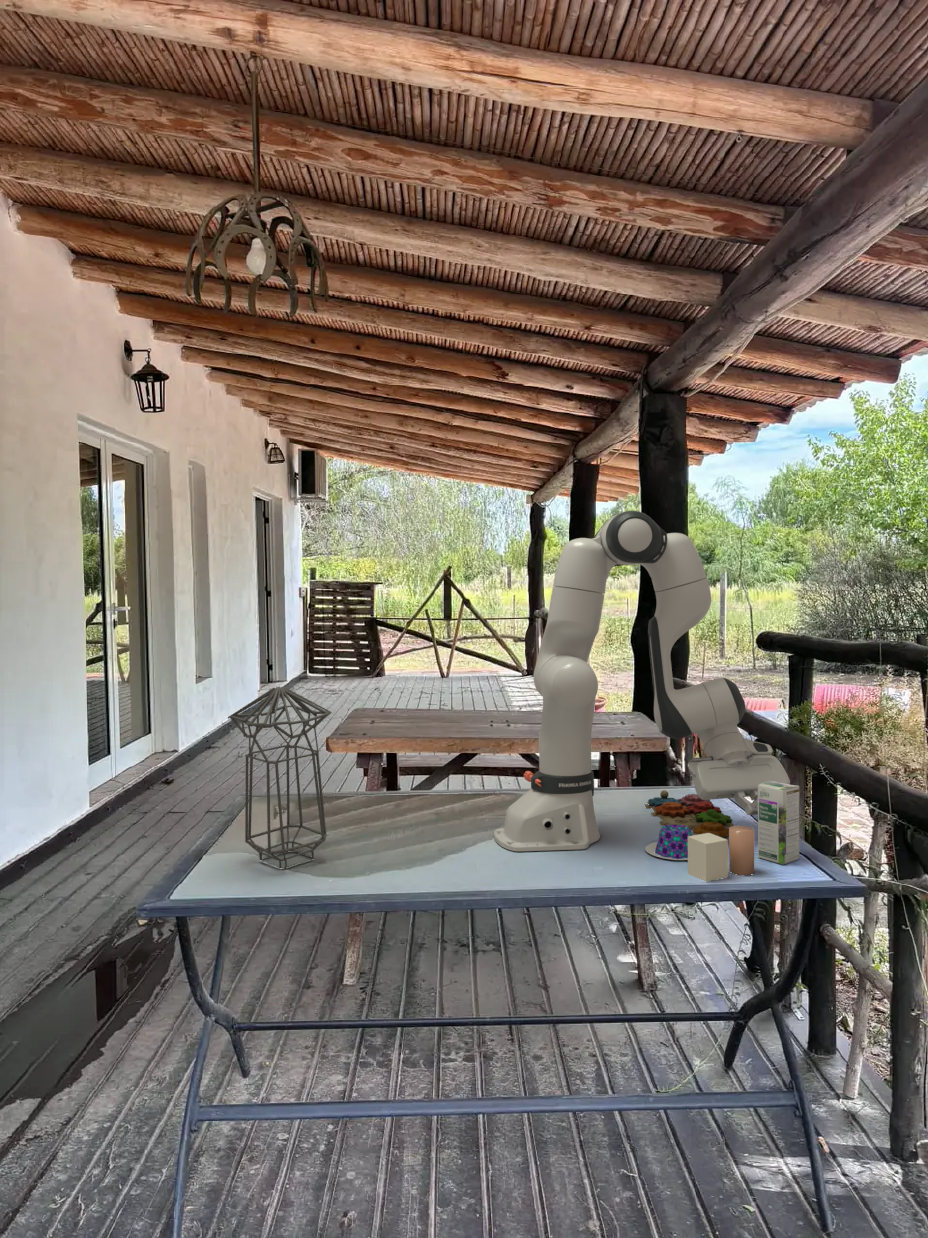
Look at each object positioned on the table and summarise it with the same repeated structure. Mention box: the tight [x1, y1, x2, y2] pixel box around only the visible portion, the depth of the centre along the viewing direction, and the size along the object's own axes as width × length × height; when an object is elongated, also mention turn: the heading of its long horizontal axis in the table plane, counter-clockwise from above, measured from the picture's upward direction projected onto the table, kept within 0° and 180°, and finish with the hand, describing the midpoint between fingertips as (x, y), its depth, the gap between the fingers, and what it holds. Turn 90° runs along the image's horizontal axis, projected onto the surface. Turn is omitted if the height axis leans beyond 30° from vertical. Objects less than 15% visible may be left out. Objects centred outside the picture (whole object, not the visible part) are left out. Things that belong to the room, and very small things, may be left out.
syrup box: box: [757, 781, 800, 866], centre depth 160 cm, size 6×6×14 cm
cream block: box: [687, 833, 729, 883], centre depth 151 cm, size 5×5×7 cm
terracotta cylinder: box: [728, 825, 755, 876], centre depth 153 cm, size 4×4×8 cm
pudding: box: [645, 824, 693, 861], centre depth 165 cm, size 12×12×5 cm
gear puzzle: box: [644, 789, 735, 838], centre depth 188 cm, size 31×16×4 cm, turn 1°
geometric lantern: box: [227, 686, 332, 868], centre depth 163 cm, size 16×16×35 cm
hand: (755, 813), depth 167 cm, fingers closed
